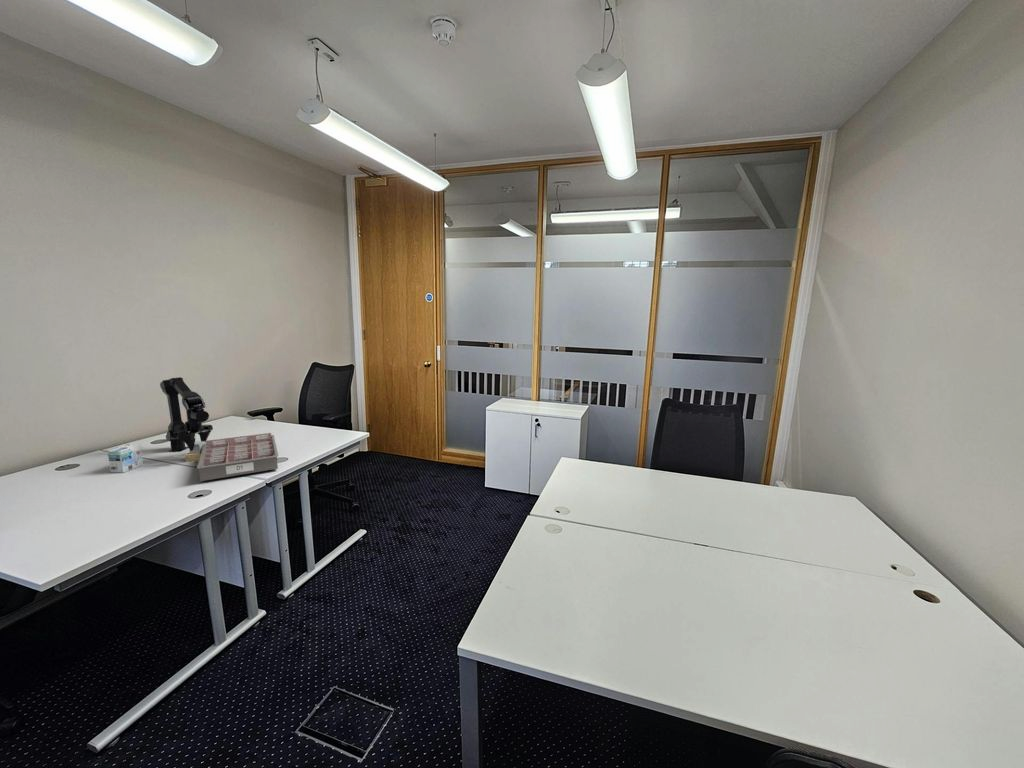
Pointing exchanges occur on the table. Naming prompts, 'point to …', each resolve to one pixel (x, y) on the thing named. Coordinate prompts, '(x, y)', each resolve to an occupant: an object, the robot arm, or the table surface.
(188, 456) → the oak block
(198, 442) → the stone cube
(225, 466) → the organizer tray
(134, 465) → the light bulb box
